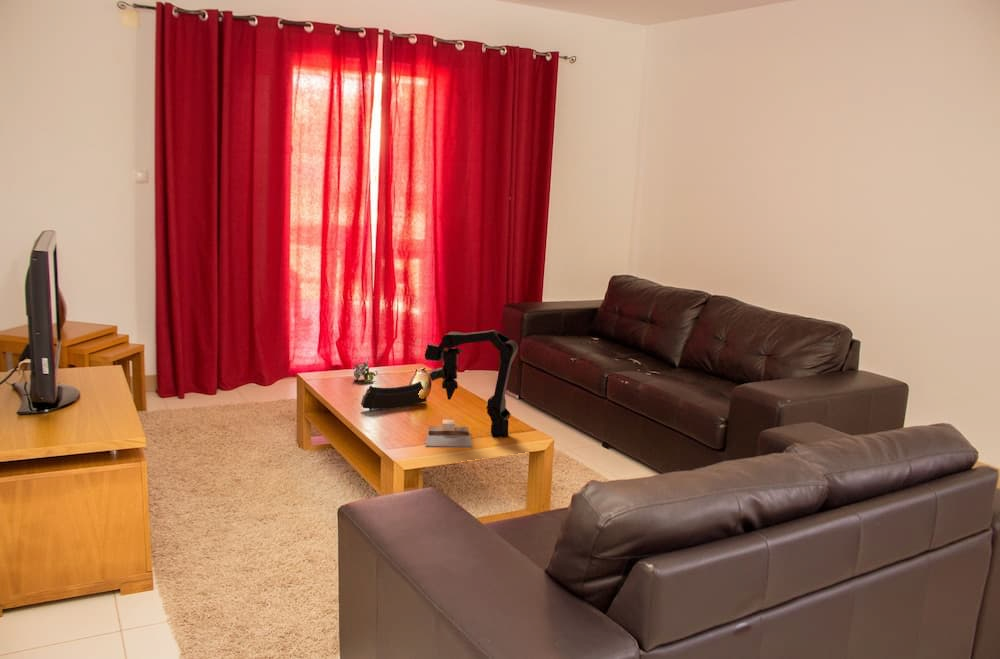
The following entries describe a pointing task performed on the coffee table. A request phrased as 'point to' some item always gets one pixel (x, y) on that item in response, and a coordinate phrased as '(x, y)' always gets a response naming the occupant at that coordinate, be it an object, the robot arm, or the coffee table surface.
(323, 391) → the coffee table surface
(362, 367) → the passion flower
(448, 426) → the peach square block
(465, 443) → the mat
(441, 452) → the coffee table surface
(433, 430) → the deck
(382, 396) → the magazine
